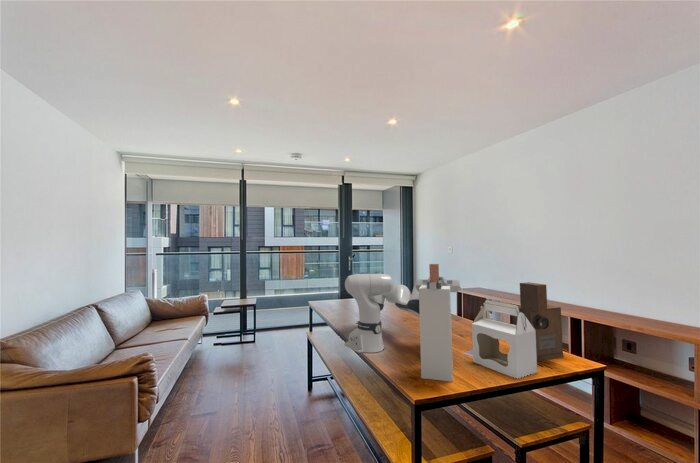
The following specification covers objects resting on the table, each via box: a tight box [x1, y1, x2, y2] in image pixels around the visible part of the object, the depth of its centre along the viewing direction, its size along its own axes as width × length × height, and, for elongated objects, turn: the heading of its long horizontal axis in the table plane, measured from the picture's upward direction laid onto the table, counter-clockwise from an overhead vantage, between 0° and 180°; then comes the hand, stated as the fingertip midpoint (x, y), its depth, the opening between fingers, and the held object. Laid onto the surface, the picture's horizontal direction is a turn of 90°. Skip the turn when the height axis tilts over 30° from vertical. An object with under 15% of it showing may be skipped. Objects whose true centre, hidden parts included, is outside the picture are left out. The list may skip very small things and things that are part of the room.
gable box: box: [471, 299, 538, 380], centre depth 138 cm, size 22×13×28 cm, turn 28°
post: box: [419, 280, 454, 383], centre depth 131 cm, size 10×12×38 cm
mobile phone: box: [463, 349, 473, 357], centre depth 157 cm, size 8×1×15 cm
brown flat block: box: [429, 263, 442, 291], centre depth 133 cm, size 26×4×10 cm, turn 161°
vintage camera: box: [512, 281, 565, 363], centre depth 149 cm, size 19×14×35 cm
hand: (436, 278), depth 143 cm, fingers closed on brown flat block, 4 cm apart
